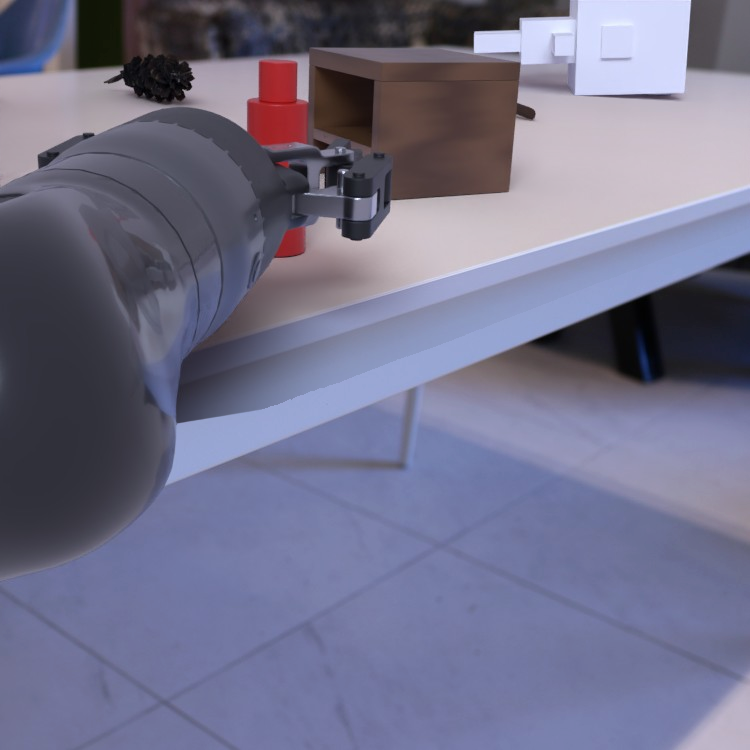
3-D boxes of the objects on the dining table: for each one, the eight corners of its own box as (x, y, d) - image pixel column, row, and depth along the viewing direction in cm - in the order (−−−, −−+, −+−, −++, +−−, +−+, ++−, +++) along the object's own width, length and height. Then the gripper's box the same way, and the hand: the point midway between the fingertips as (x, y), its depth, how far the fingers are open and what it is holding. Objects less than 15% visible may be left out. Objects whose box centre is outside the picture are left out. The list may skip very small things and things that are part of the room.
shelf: (376, 201, 71) (382, 62, 68) (306, 171, 80) (309, 47, 77) (509, 191, 76) (521, 62, 73) (429, 164, 85) (437, 48, 82)
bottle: (260, 259, 56) (261, 64, 52) (238, 244, 58) (237, 58, 55) (314, 254, 57) (319, 64, 54) (290, 240, 60) (293, 58, 56)
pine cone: (212, 108, 110) (212, 56, 108) (169, 110, 107) (168, 57, 105) (135, 88, 123) (133, 41, 121) (94, 90, 120) (92, 41, 118)
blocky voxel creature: (475, 88, 157) (666, 83, 155) (473, 108, 134) (698, 104, 131) (475, -17, 152) (673, -24, 149) (473, -15, 129) (707, -23, 126)
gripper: (364, 136, 34) (406, 84, 49) (-53, 109, 36) (111, 66, 51) (355, 351, 37) (397, 240, 52) (-31, 319, 38) (118, 219, 53)
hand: (256, 154), depth 51 cm, fingers open, 8 cm apart
